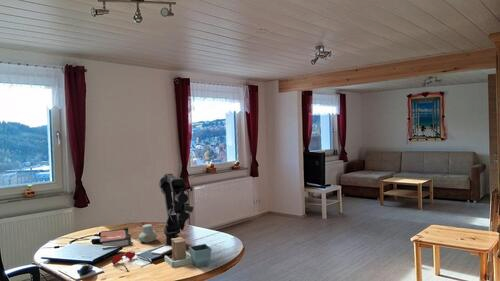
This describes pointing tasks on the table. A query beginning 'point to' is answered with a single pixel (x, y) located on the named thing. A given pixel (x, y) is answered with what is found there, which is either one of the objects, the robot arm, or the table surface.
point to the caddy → (178, 249)
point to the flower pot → (200, 254)
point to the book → (115, 237)
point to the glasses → (128, 255)
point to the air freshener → (147, 234)
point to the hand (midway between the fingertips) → (179, 228)
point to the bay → (179, 261)
